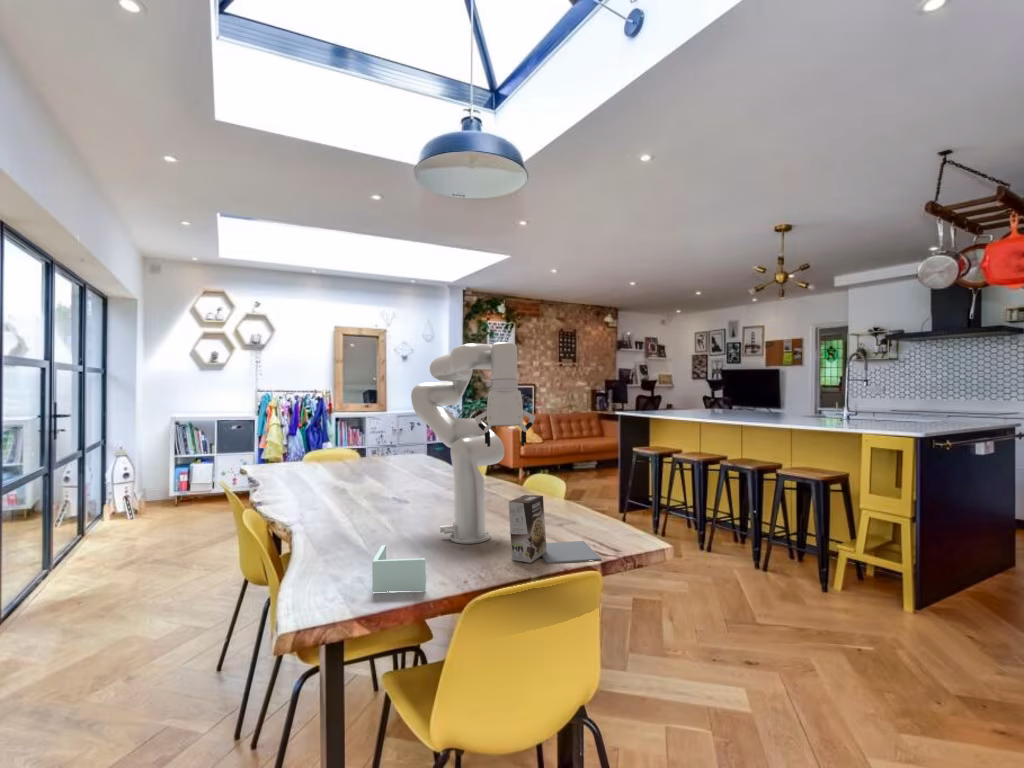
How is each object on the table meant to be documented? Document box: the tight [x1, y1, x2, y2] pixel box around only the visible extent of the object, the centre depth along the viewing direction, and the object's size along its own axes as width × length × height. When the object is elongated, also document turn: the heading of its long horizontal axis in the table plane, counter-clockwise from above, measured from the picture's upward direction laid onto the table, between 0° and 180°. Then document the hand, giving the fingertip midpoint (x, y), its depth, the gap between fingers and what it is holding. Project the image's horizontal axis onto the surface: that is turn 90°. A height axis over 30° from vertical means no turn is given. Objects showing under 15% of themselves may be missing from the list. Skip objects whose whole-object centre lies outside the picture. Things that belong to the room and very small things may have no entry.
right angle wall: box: [371, 544, 427, 593], centre depth 123 cm, size 12×12×8 cm
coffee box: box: [508, 494, 547, 563], centre depth 140 cm, size 9×6×16 cm
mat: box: [541, 540, 602, 565], centre depth 144 cm, size 15×16×1 cm
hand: (505, 445), depth 144 cm, fingers open, 9 cm apart
